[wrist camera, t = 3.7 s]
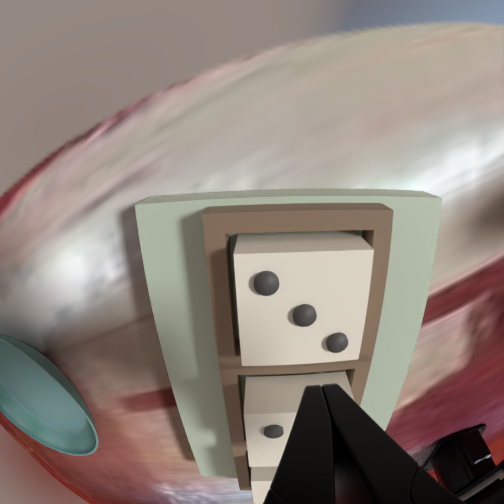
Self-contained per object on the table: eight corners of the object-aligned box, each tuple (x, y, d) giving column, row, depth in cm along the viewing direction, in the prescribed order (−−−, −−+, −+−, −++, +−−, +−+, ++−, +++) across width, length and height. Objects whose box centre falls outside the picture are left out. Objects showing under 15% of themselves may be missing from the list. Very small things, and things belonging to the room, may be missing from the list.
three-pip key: (345, 328, 14) (359, 362, 12) (244, 332, 15) (241, 369, 12) (354, 230, 13) (375, 251, 10) (238, 233, 13) (233, 256, 10)
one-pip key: (320, 477, 18) (323, 505, 16) (254, 481, 18) (254, 509, 16) (328, 445, 17) (334, 478, 14) (252, 450, 17) (250, 483, 14)
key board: (363, 450, 21) (371, 480, 18) (204, 458, 22) (199, 489, 19) (422, 191, 14) (457, 204, 11) (149, 196, 15) (121, 211, 11)
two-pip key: (333, 428, 16) (340, 463, 13) (250, 433, 16) (249, 469, 14) (345, 371, 14) (357, 409, 12) (246, 376, 14) (243, 417, 12)
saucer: (20, 417, 23) (11, 432, 21) (-35, 308, 18) (-51, 321, 16) (127, 451, 23) (120, 471, 20) (75, 329, 18) (56, 351, 15)
